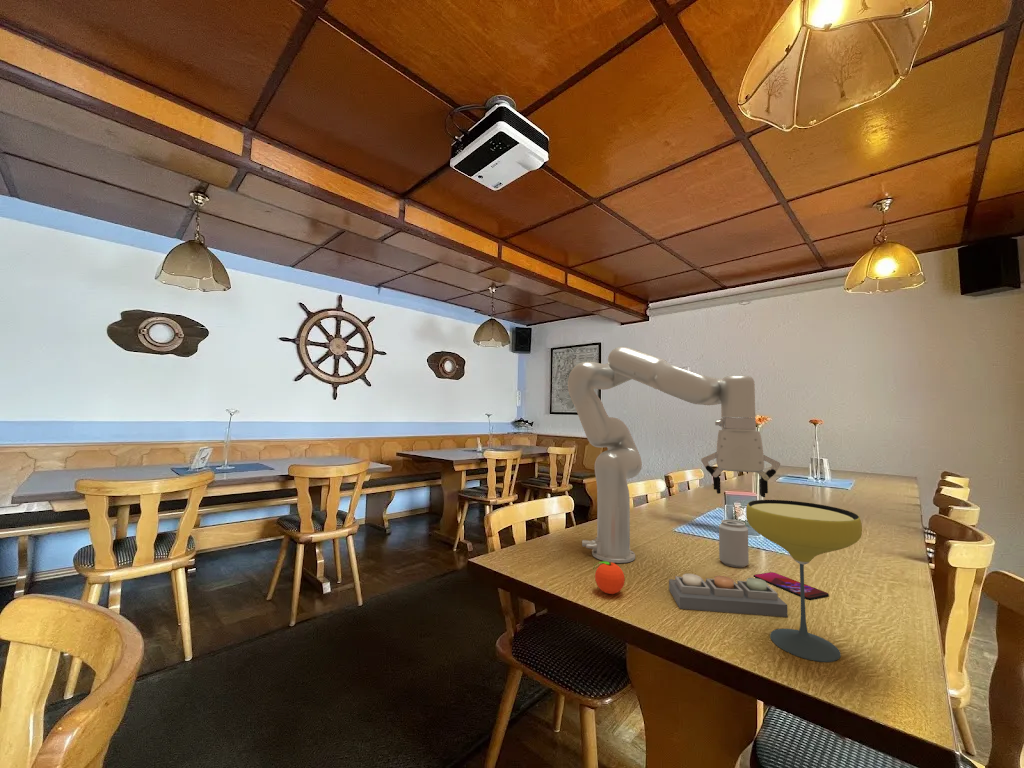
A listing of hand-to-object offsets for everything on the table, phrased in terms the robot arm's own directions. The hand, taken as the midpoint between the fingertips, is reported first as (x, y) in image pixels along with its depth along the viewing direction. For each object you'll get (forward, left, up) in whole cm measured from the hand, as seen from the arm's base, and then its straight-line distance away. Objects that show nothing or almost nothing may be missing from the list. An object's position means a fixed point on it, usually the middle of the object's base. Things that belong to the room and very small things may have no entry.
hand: (740, 494), depth 103 cm
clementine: (-33, -6, -23) cm, 41 cm away
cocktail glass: (+2, -24, -23) cm, 33 cm away
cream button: (-14, -7, -20) cm, 25 cm away
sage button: (0, -7, -20) cm, 21 cm away
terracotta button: (-7, -7, -20) cm, 22 cm away
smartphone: (+13, +6, -24) cm, 28 cm away
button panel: (-7, -7, -23) cm, 25 cm away
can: (+5, +20, -23) cm, 31 cm away
